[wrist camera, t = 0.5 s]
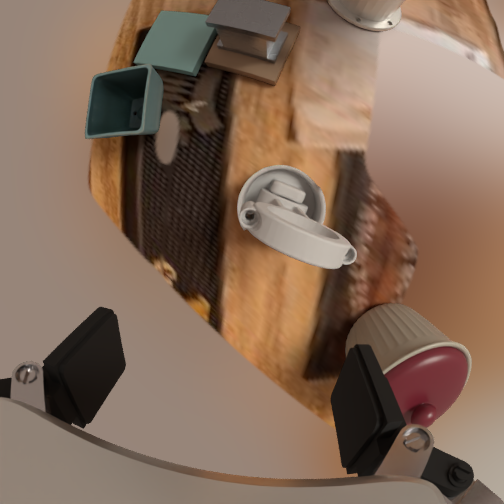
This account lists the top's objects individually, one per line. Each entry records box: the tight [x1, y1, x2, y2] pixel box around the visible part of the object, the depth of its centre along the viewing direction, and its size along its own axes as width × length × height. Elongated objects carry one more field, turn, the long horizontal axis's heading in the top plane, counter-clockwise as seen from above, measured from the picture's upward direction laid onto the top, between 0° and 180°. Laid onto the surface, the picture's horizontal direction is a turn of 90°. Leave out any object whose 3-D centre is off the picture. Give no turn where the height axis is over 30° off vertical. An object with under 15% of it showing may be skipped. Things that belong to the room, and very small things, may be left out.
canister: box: [345, 303, 471, 428], centre depth 31 cm, size 18×18×21 cm
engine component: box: [237, 165, 357, 269], centre depth 27 cm, size 11×20×10 cm
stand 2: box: [204, 22, 300, 86], centre depth 29 cm, size 10×10×2 cm
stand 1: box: [133, 11, 217, 76], centre depth 29 cm, size 10×10×2 cm
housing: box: [205, 0, 291, 64], centre depth 24 cm, size 8×5×8 cm, turn 69°
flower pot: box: [85, 64, 163, 139], centre depth 29 cm, size 9×9×9 cm
